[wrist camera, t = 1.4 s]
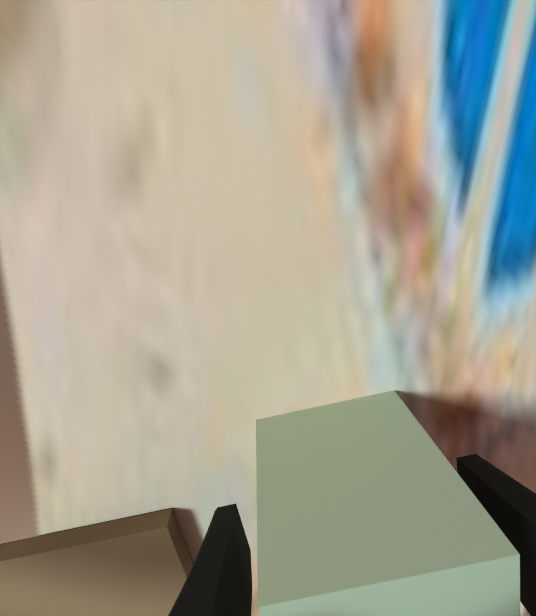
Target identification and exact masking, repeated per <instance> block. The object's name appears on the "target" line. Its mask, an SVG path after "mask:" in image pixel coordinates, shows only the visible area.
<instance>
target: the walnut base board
mask: <svg viewBox="0 0 536 616" xmlns="http://www.w3.org/2000/svg"><path fill="white" fill-rule="evenodd" d="M192 566H193V562H192V560H191V557H190V555H189V552H188V549H187V547H186V544H185V542H184V539H183V536H182V534H181V531H180V528H179V526H178V523H177V521H176V518H175V515H174V513H173V510H172V508H171V509H167V510H162V511H157V512H152V513H147V514H143V515H138V516H133V517H128V518H123V519H119V520H114V521H109V522H104V523H99V524H95V525H90V526H85V527H80V528H75V529H70V530H66V531H61V532H56V533H51V534H46V535H42V536H37V537H32V538H27V539H22V540H18V541H13V542H8V543H4V544H0V616H168V615H169V613H170V611H171V609H172V607H173V605H174V603H175V601H176V599H177V597H178V595H179V593H180V591H181V589H182V587H183V585H184V583H185V581H186V579H187V577H188V575H189V572H190V570H191V568H192Z"/></svg>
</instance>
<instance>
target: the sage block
mask: <svg viewBox="0 0 536 616" xmlns="http://www.w3.org/2000/svg"><path fill="white" fill-rule="evenodd" d="M256 454H257V544H258V608H259V611H260V614H261V616H520V554H519V553H518V552H517V550H516V549H515V548H514V546H513V545H512V544H511V542H510V541H509V540H508V538H507V537H506V536H505V535H504V533H503V532H502V531H501V529H500V528H499V527H498V525H497V524H496V523H495V521H494V520H493V519H492V518H491V516H490V515H489V514H488V512H487V511H486V510H485V508H484V507H483V506H482V504H481V503H480V502H479V501H478V499H477V498H476V497H475V495H474V494H473V493H472V491H471V490H470V489H469V487H468V486H467V485H466V484H465V482H464V481H463V480H462V478H461V477H460V476H459V474H458V473H457V472H456V470H455V469H454V468H453V467H452V465H451V464H450V463H449V461H448V460H447V459H446V457H445V456H444V455H443V453H442V452H441V451H440V450H439V448H438V447H437V446H436V444H435V443H434V442H433V440H432V439H431V438H430V436H429V435H428V434H427V433H426V431H425V430H424V429H423V427H422V426H421V425H420V423H419V422H418V421H417V419H416V418H415V417H414V416H413V414H412V413H411V412H410V410H409V409H408V408H407V406H406V405H405V404H404V402H403V401H402V400H401V399H400V397H399V396H398V395H397V393H396V392H395V391H389V392H385V393H380V394H375V395H371V396H366V397H361V398H357V399H352V400H347V401H342V402H338V403H333V404H328V405H324V406H319V407H314V408H310V409H305V410H300V411H296V412H291V413H286V414H282V415H277V416H272V417H268V418H263V419H258V420H256Z"/></svg>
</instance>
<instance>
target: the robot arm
mask: <svg viewBox="0 0 536 616" xmlns="http://www.w3.org/2000/svg"><path fill="white" fill-rule="evenodd" d="M457 470H458V474H459V476H460V477H461V478H462V480H463V481H464V482H465V484H466V485H467V486H468V487H469V489H470V490H471V491H472V493H473V494H474V495H475V497H476V498H477V499H478V501H479V502H480V503H481V504H482V506H483V507H484V508H485V510H486V511H487V512H488V514H489V515H490V516H491V518H492V519H493V520H494V521H495V523H496V524H497V525H498V527H499V528H500V529H501V531H502V532H503V533H504V535H505V536H506V537H507V538H508V540H509V541H510V542H511V544H512V545H513V546H514V548H515V549H516V550H517V552H518V553H519V554H520V601H521V602H522V604H523V605H524V607H525V608H526V610H527V611H528V612H529V613H530V615H531V616H536V494H535V493H534V492H532V491H531V490H529V489H528V488H526V487H525V486H523V485H522V484H520V483H519V482H517V481H516V480H514V479H513V478H511V477H510V476H508V475H507V474H505V473H504V472H502V471H501V470H499V469H498V468H496V467H495V466H493V465H492V464H490V463H489V462H487V461H486V460H484V459H483V458H481V457H480V456H478V455H477V454H473V455H468V456H463V457H459V458H457ZM251 603H252V572H251V552H250V547H249V544H248V541H247V538H246V535H245V531H244V528H243V525H242V522H241V519H240V515H239V512H238V509H237V506H236V504H232V505H227V506H223V507H218V508H217V509H216V510H215V513H214V515H213V518H212V521H211V523H210V526H209V528H208V531H207V533H206V536H205V538H204V541H203V543H202V545H201V548H200V550H199V552H198V555H197V557H196V559H195V561H194V563H193V566H192V568H191V570H190V572H189V575H188V577H187V579H186V581H185V583H184V585H183V587H182V589H181V591H180V593H179V595H178V597H177V599H176V601H175V603H174V605H173V607H172V609H171V611H170V613H169V615H168V616H251Z"/></svg>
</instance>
